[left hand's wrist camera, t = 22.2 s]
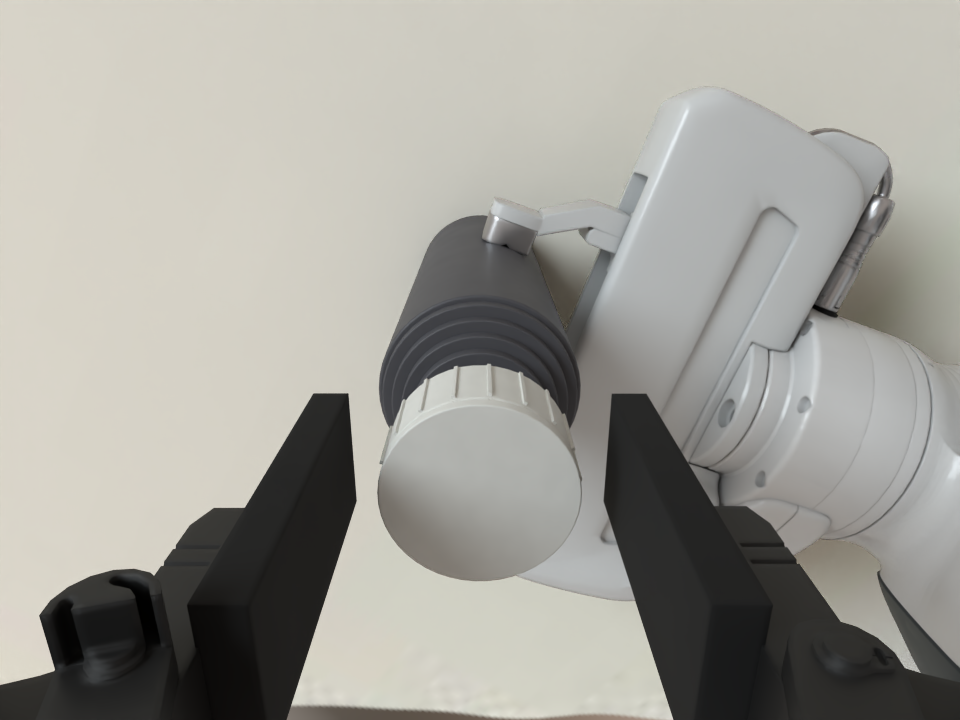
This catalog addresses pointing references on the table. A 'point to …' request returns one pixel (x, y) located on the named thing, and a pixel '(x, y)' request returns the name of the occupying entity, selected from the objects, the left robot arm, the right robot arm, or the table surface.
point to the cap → (479, 475)
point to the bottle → (478, 320)
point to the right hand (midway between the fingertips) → (457, 302)
